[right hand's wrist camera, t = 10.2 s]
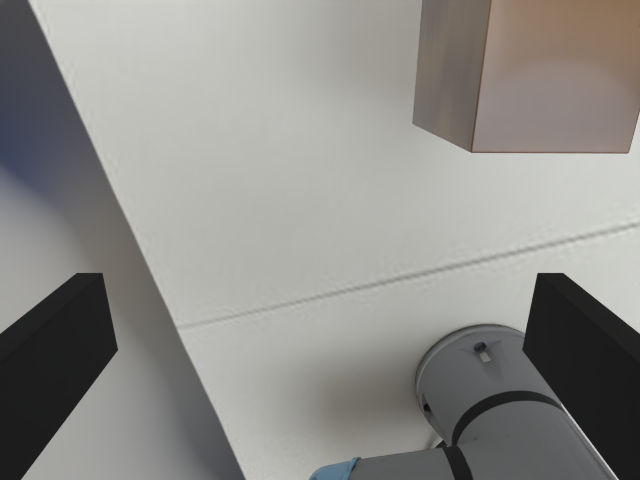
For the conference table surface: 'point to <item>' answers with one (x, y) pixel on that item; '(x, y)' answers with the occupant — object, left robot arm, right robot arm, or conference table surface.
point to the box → (529, 74)
